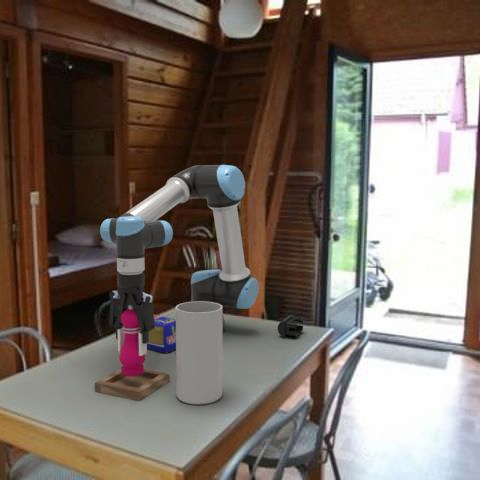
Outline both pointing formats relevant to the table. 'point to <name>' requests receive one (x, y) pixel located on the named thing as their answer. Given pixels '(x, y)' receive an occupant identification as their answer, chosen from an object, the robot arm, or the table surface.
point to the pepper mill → (131, 345)
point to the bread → (163, 335)
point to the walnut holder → (132, 384)
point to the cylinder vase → (199, 352)
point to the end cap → (290, 327)
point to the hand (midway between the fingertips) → (132, 352)
